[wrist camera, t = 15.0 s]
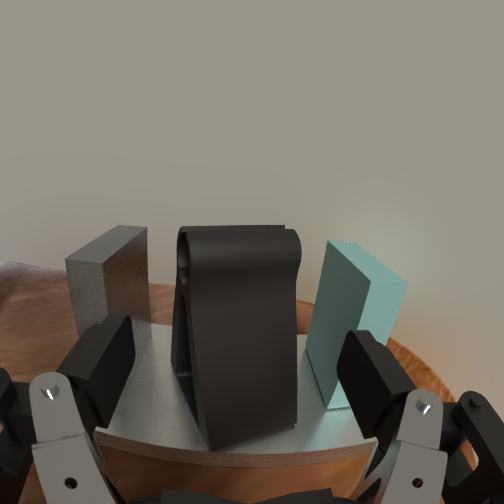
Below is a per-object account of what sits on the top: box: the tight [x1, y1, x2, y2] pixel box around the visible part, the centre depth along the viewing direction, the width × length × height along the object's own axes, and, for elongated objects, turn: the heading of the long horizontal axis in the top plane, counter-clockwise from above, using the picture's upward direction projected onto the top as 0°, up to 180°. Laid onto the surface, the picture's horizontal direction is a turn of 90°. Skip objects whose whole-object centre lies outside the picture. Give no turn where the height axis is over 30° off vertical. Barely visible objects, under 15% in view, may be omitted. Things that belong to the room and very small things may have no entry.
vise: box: [65, 225, 378, 467], centre depth 18 cm, size 14×20×12 cm
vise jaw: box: [305, 240, 407, 409], centre depth 19 cm, size 8×4×10 cm, turn 3°
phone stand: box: [170, 225, 302, 452], centre depth 16 cm, size 9×6×12 cm, turn 26°
